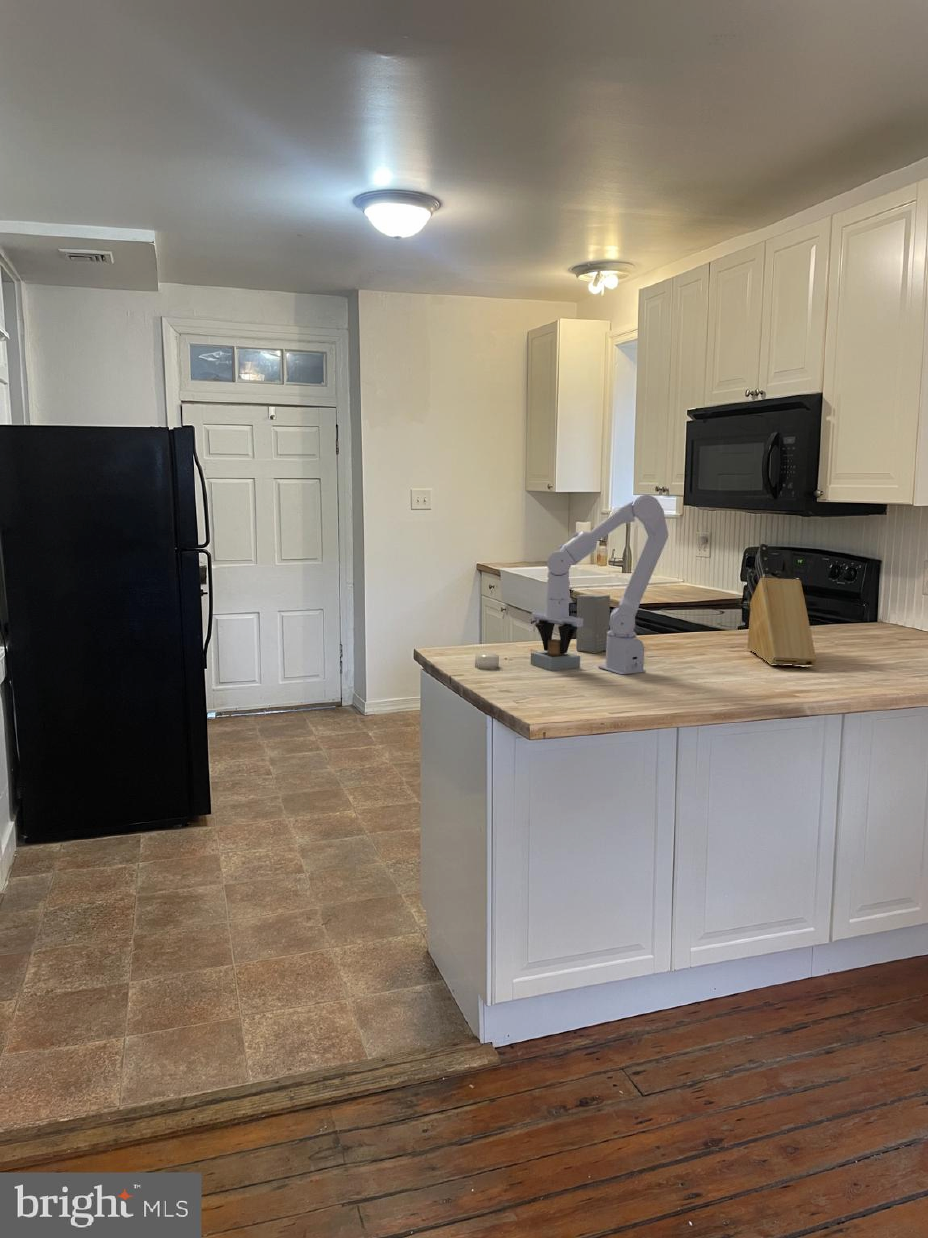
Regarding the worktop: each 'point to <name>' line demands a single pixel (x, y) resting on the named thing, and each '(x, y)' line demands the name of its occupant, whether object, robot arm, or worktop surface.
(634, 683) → the worktop surface
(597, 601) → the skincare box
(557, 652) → the walnut dowel
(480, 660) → the ivory rounded cylinder
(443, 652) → the worktop surface
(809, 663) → the knife block
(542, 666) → the socket board
